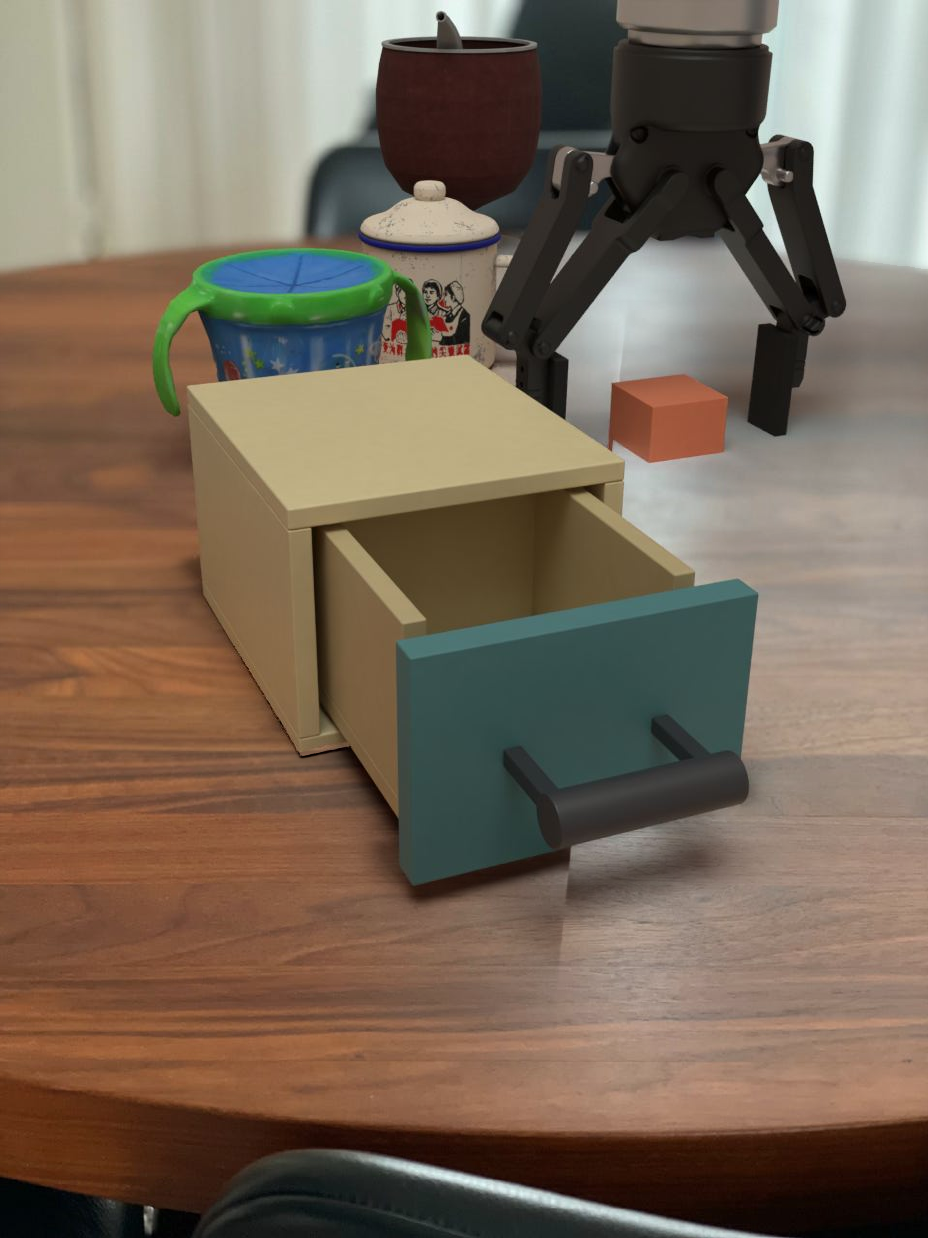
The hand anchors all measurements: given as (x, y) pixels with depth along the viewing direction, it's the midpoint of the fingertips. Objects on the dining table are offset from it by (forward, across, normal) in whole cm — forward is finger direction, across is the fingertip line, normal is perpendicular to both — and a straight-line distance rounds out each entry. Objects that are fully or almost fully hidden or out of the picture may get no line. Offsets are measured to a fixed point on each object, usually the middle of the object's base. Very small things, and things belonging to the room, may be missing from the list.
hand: (657, 459), depth 78 cm
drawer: (0, +20, +26) cm, 33 cm away
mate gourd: (+1, -10, -53) cm, 54 cm away
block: (0, 0, 0) cm, 1 cm away
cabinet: (+1, +20, +14) cm, 24 cm away
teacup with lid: (+1, +3, -22) cm, 23 cm away
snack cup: (+1, +17, -10) cm, 20 cm away
